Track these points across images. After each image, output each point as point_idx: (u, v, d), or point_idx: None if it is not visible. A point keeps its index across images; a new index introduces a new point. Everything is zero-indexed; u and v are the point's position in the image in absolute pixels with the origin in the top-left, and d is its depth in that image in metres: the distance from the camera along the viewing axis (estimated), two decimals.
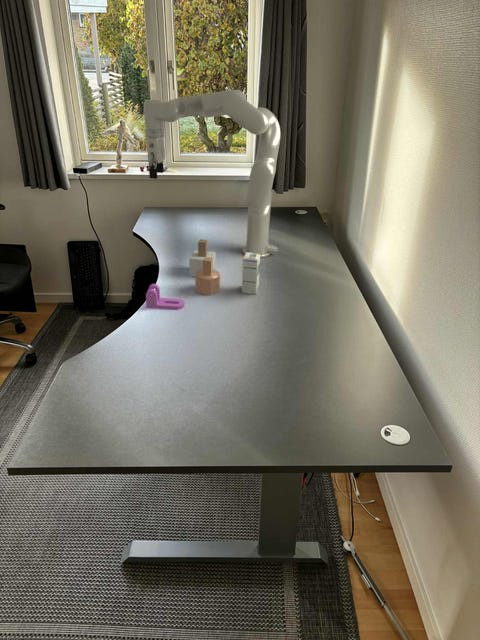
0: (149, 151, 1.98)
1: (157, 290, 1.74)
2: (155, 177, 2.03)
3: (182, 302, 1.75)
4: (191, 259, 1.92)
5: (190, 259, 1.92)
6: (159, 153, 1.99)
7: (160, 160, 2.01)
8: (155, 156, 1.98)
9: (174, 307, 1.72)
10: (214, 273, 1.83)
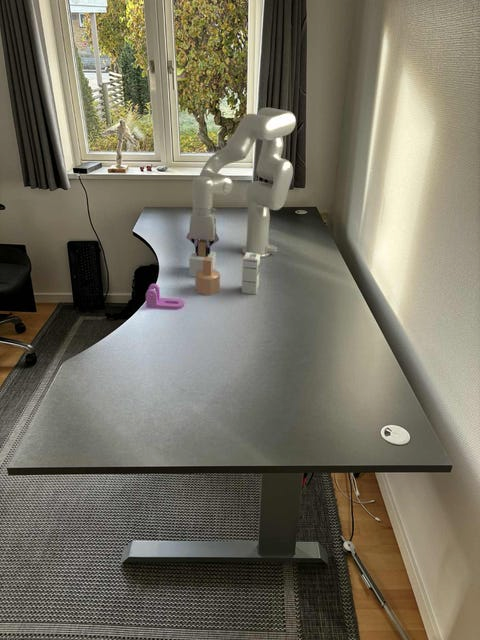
0: (214, 228, 1.87)
1: (157, 290, 1.74)
2: None
3: (182, 302, 1.75)
4: (191, 259, 1.92)
5: (190, 259, 1.92)
6: None
7: None
8: None
9: (174, 307, 1.72)
10: (214, 273, 1.83)
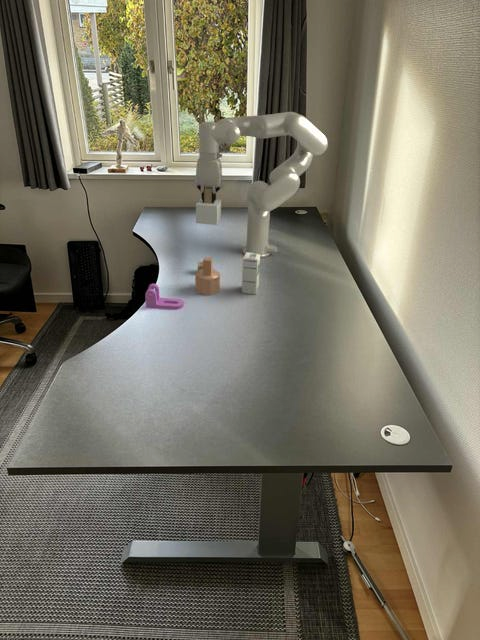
0: (220, 174, 1.92)
1: (156, 290, 1.74)
2: (214, 200, 2.00)
3: (181, 302, 1.75)
4: (197, 205, 1.97)
5: (196, 205, 1.97)
6: None
7: None
8: (221, 177, 1.95)
9: (173, 307, 1.72)
10: (214, 273, 1.83)
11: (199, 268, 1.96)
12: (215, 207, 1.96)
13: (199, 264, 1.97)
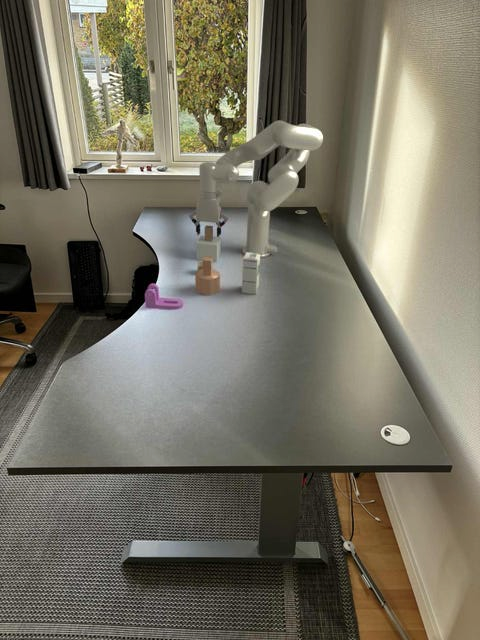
0: (219, 211, 2.00)
1: (156, 290, 1.74)
2: None
3: (181, 302, 1.75)
4: (198, 244, 2.06)
5: (197, 244, 2.06)
6: None
7: None
8: None
9: (173, 307, 1.72)
10: (214, 273, 1.83)
11: (199, 268, 1.96)
12: (214, 245, 2.05)
13: (199, 264, 1.97)
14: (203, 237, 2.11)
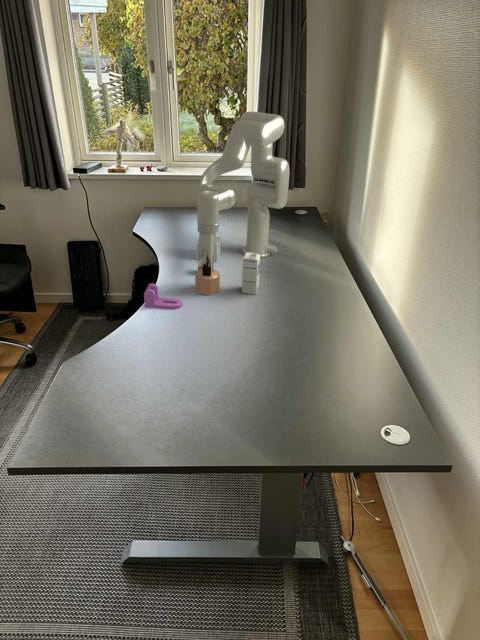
0: None
1: (155, 290, 1.74)
2: None
3: (180, 302, 1.75)
4: (198, 244, 2.06)
5: (197, 244, 2.06)
6: None
7: None
8: None
9: (172, 307, 1.72)
10: (214, 273, 1.83)
11: (199, 268, 1.96)
12: None
13: (199, 264, 1.97)
14: None
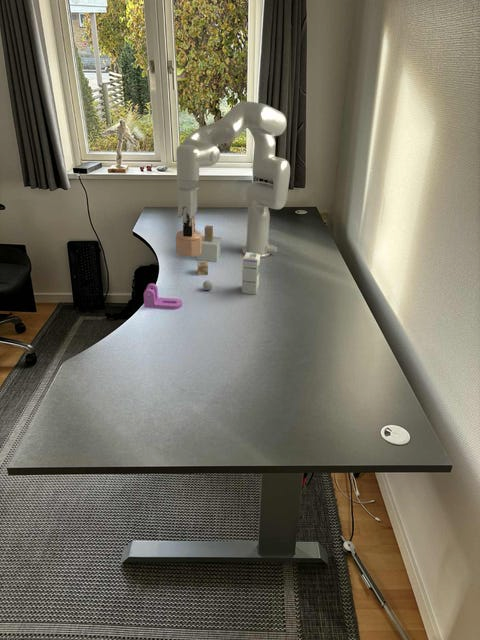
0: None
1: (155, 290, 1.74)
2: None
3: (180, 302, 1.75)
4: None
5: None
6: None
7: None
8: None
9: (172, 307, 1.72)
10: (195, 234, 1.76)
11: (199, 268, 1.96)
12: (214, 245, 2.05)
13: (199, 264, 1.97)
14: (203, 237, 2.11)
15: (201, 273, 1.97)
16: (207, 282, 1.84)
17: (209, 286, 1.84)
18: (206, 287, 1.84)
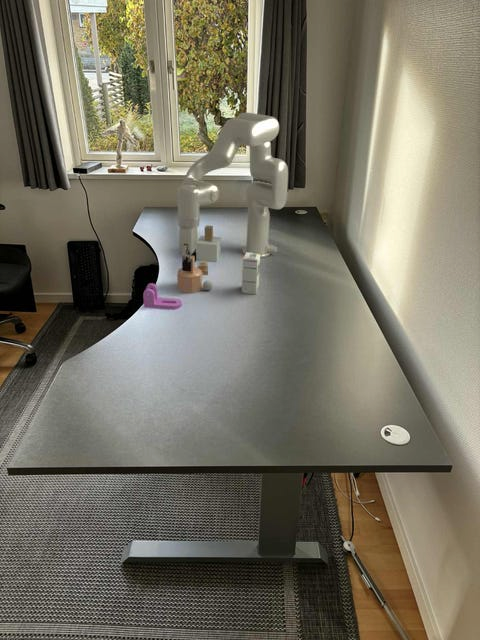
0: None
1: (155, 289, 1.74)
2: None
3: (179, 302, 1.75)
4: (198, 244, 2.06)
5: (197, 244, 2.06)
6: None
7: None
8: None
9: (171, 307, 1.72)
10: (196, 271, 1.84)
11: (199, 268, 1.96)
12: (214, 245, 2.05)
13: (199, 264, 1.97)
14: (203, 237, 2.11)
15: None
16: (207, 282, 1.84)
17: (209, 286, 1.84)
18: (206, 287, 1.84)
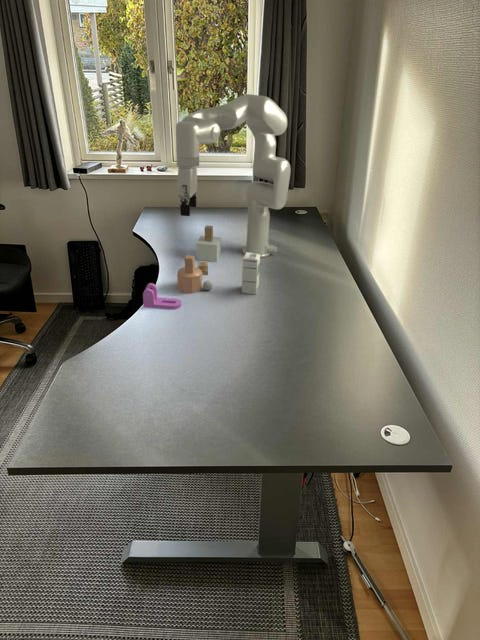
0: None
1: (154, 289, 1.74)
2: None
3: (179, 302, 1.75)
4: (198, 244, 2.06)
5: (197, 244, 2.06)
6: None
7: None
8: None
9: (171, 307, 1.72)
10: (196, 271, 1.84)
11: (199, 268, 1.96)
12: (214, 245, 2.05)
13: (199, 264, 1.97)
14: (203, 237, 2.11)
15: None
16: (207, 282, 1.84)
17: (209, 286, 1.84)
18: (206, 287, 1.84)
